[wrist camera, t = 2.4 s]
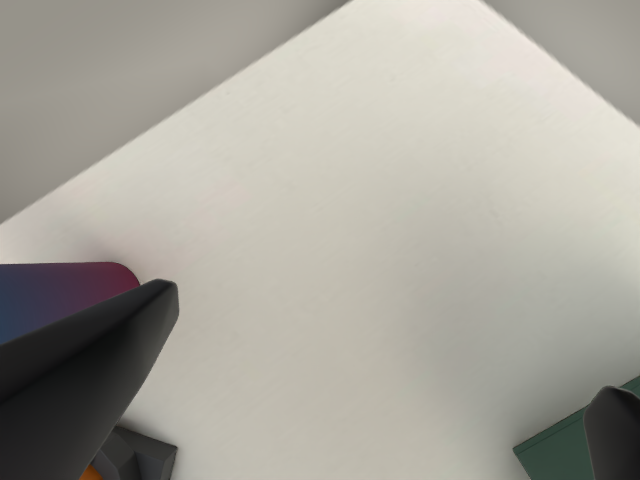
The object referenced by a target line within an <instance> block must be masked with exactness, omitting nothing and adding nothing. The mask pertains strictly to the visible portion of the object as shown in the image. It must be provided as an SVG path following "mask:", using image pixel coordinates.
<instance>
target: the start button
mask: <svg viewBox="0 0 640 480" xmlns="http://www.w3.org/2000/svg"><path fill="white" fill-rule="evenodd" d="M79 480H103V478H102V477H101V475H100V474H99V473H98V472H97V471H96V470H95V469H94V467H93V466H92V465H90V464H89V465H88V467H87V468H86V470H85V471H84V473H83V474H82V476H81V477H80V479H79Z"/></svg>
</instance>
